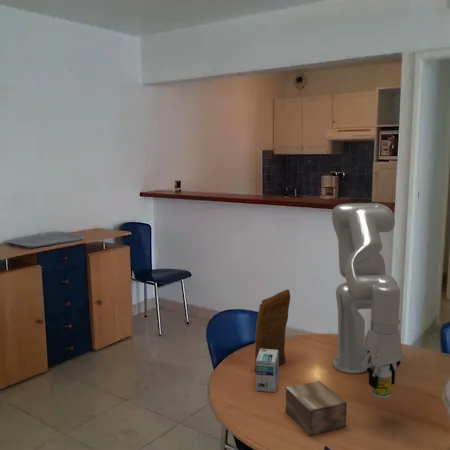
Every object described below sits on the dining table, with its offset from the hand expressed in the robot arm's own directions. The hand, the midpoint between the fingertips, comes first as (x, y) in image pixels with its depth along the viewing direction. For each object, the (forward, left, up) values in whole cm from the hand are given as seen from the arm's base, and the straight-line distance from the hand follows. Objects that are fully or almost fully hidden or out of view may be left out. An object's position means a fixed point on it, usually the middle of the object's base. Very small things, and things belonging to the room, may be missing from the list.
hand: (381, 383), depth 143 cm
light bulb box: (+20, -33, -11) cm, 40 cm away
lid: (+18, -8, -4) cm, 20 cm away
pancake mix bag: (+12, -45, -11) cm, 48 cm away
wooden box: (+17, -8, -11) cm, 22 cm away
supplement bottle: (0, 0, -3) cm, 3 cm away
